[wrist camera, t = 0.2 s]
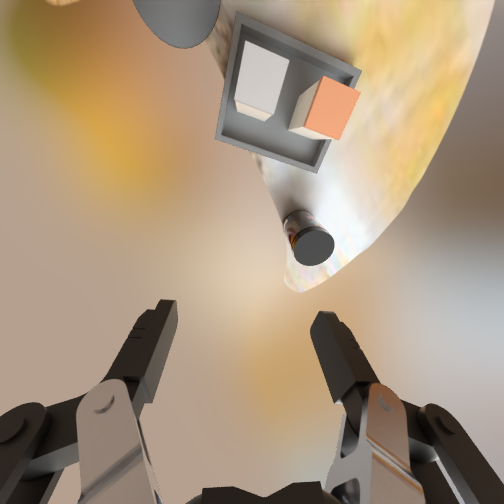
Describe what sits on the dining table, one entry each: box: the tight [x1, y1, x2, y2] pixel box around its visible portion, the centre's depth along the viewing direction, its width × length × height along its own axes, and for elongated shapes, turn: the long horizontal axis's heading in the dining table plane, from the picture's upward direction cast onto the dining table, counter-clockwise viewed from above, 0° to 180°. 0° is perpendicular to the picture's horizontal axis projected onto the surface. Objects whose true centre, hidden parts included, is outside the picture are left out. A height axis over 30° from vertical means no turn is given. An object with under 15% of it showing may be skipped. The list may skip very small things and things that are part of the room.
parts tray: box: [215, 11, 362, 174], centre depth 28 cm, size 18×14×2 cm
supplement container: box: [283, 210, 334, 266], centre depth 35 cm, size 7×7×10 cm
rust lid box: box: [288, 76, 361, 140], centre depth 25 cm, size 5×5×10 cm
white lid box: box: [234, 41, 289, 122], centre depth 24 cm, size 5×5×10 cm
